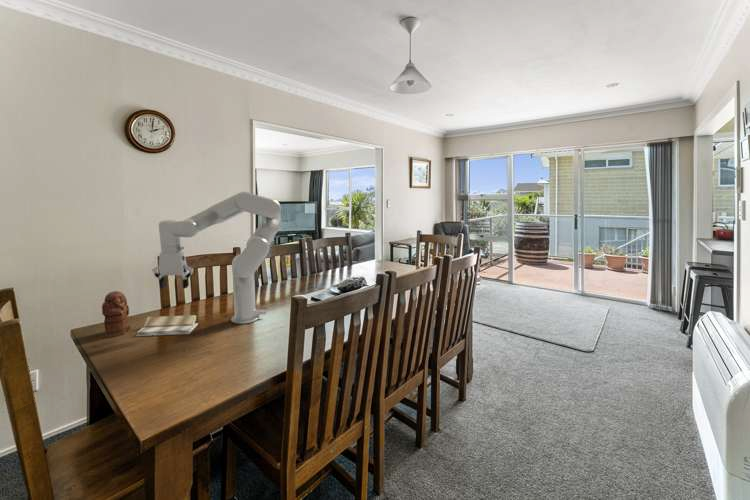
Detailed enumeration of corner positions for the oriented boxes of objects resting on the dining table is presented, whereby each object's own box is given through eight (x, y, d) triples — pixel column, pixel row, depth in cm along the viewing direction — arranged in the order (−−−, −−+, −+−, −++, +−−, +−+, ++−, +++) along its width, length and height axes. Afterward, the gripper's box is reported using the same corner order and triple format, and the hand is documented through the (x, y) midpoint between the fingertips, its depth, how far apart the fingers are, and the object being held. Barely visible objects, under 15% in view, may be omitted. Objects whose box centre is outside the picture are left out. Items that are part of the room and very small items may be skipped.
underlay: (198, 324, 166) (198, 323, 166) (189, 333, 154) (189, 333, 154) (148, 326, 162) (148, 325, 162) (135, 336, 151) (135, 335, 151)
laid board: (192, 328, 160) (192, 325, 159) (188, 332, 154) (188, 329, 154) (143, 330, 156) (143, 327, 156) (137, 335, 151) (136, 332, 151)
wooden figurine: (120, 337, 150) (116, 295, 147) (103, 338, 149) (98, 295, 146) (133, 326, 161) (130, 287, 158) (117, 327, 160) (113, 288, 157)
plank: (196, 317, 165) (195, 315, 164) (193, 326, 161) (192, 325, 160) (148, 318, 162) (147, 317, 161) (144, 329, 157) (143, 327, 157)
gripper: (195, 247, 159) (198, 285, 162) (155, 247, 159) (159, 285, 162) (187, 250, 152) (190, 289, 155) (145, 250, 152) (149, 290, 154)
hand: (174, 287), depth 158 cm, fingers open, 9 cm apart
